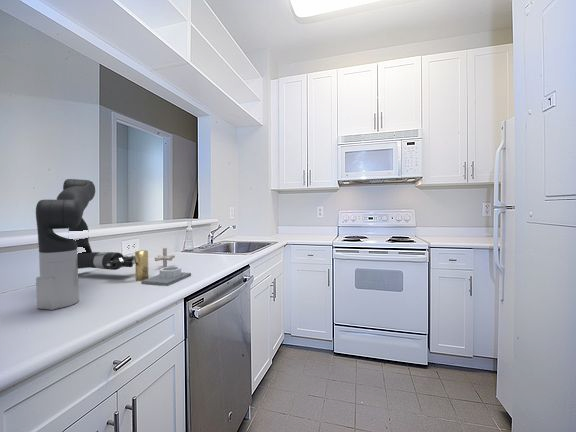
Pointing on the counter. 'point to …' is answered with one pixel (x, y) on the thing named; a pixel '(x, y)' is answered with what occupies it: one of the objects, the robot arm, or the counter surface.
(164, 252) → the pipe connector
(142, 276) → the cylinder
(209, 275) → the counter surface
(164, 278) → the plate
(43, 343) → the counter surface
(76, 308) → the counter surface
